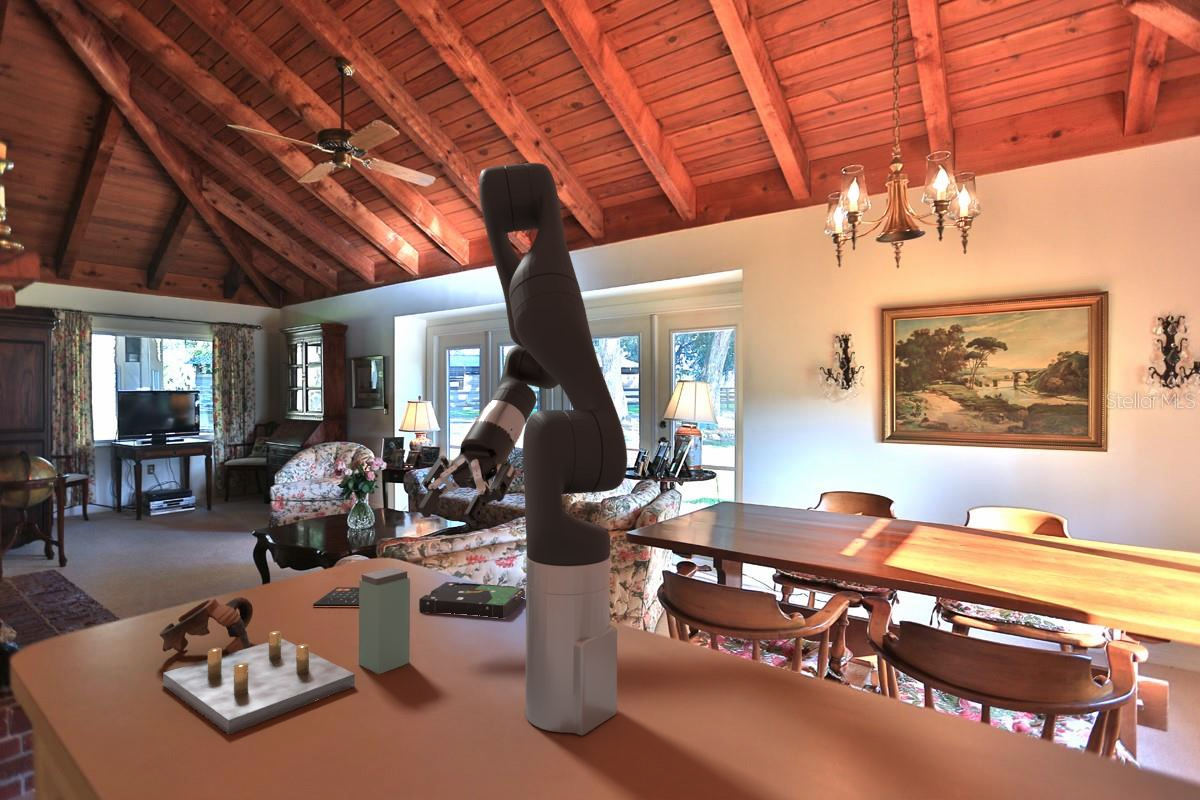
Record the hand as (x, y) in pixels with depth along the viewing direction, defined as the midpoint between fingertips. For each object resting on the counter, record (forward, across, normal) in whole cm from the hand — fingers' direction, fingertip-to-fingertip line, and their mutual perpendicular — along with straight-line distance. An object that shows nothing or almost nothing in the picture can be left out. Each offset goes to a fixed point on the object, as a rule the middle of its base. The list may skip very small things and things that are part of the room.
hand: (445, 517), depth 93 cm
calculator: (+9, -24, +17) cm, 30 cm away
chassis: (+29, -8, -5) cm, 30 cm away
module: (+20, 0, +4) cm, 21 cm away
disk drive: (+4, -4, +21) cm, 22 cm away
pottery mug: (+26, -23, -2) cm, 35 cm away
